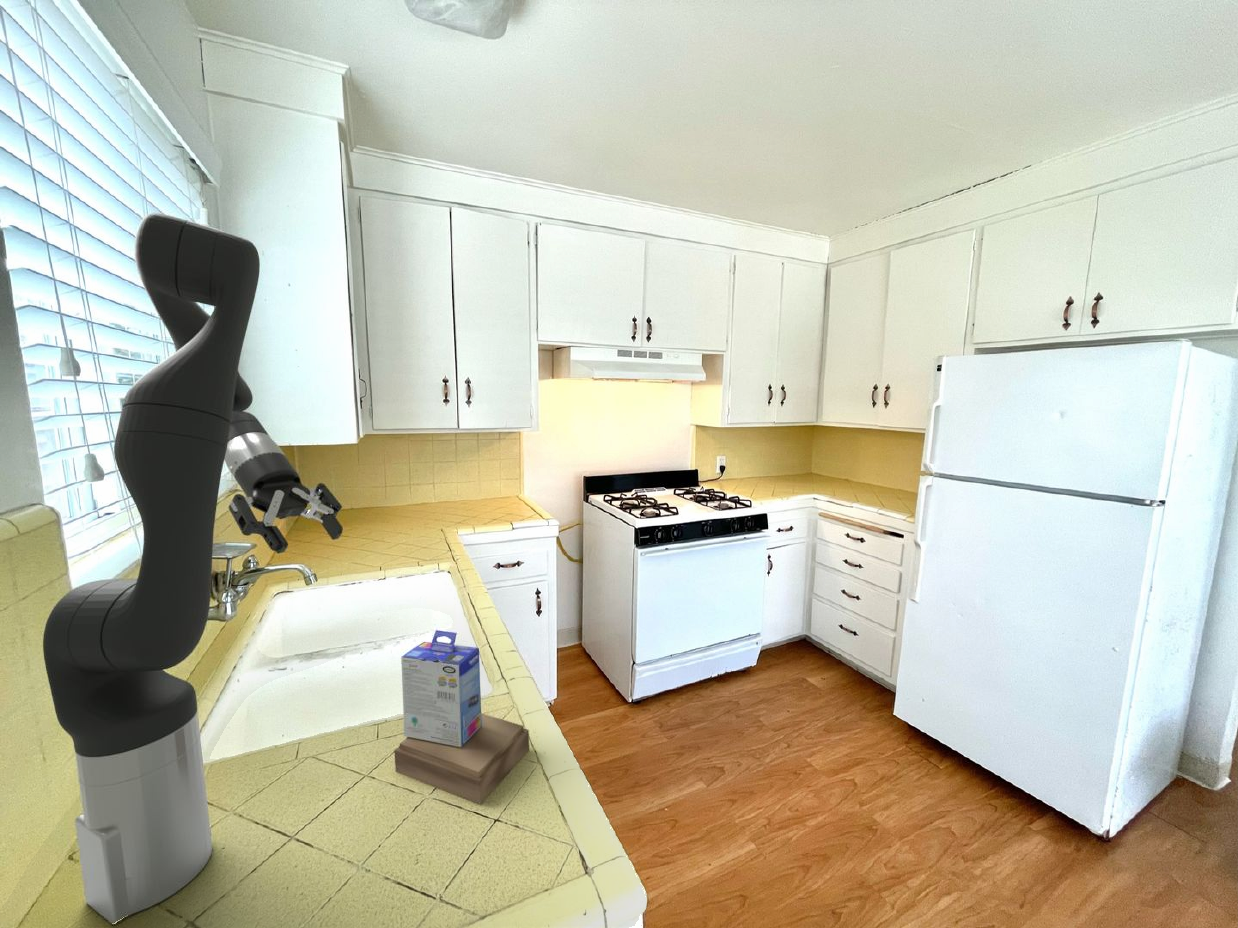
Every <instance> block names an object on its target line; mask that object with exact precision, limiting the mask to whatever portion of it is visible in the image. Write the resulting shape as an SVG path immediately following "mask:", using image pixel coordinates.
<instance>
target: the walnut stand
mask: <svg viewBox="0 0 1238 928" xmlns="http://www.w3.org/2000/svg"><path fill="white" fill-rule="evenodd" d="M481 718H482V727H481V728H480V729H479V730H478V731H477V732H476V733H475V734H474V735H473V736H472V737H471V738H470V739H469V740H468V741H467V742H466V743H465V744H464V745H463V746H462V747H457V746H452V745H446V744H441V743H436V742H431V741H426V740H421V739H415V738H410V737H406V738H404V739H403V740H402V741H401V742H399V746H398V747H396V748H395V749H394V750H393V751H394V752H393V753H394V765H395V766H394V767H395V772H397V773H399V774H402V775H404V776H406V777H409V778H412V779H414V780H416V781H419V782H421V783H422V782H423V783H424V784H427V785H429V786H431V787H435V788H437V789H438V790H439V789H440V790H442V791H445V792H447V793H449V794H452V795H455V796H458V797H460V798H462V799H464V800H467V801H470V802H472V803H475V804H477V805H482V804H483V803H484V802H485V800H486V799H487V798H488V797H489V796H490V795H491V793H492V792H493V791H494V790H495V789H496V788H497V786H499V784H500V783H501V782H502V781H503V780H504V779H505V778H506V777H507V775H508V774H510V772H511V771H512V770H513V769H514V767H515V766H516V765H517V764H518V763H519V762H520V761H521V760H522V758H524V757H525V755H526V754H527V753H528V752H529V751H530V735H529V734H530V733H529V729H527V728H524V727H525V726H524V725H522V724H519V723H515V722H511V721H509V720H505V719H501V718H498V717H495V716H492V715H488V714H485V713H482V712H481Z"/></svg>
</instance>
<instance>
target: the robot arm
mask: <svg viewBox="0 0 1238 928" xmlns="http://www.w3.org/2000/svg"><path fill="white" fill-rule="evenodd" d="M133 250H134V251H133V252H134V253H133V254H134V261H135V267H136V271H137V274H138V277H139V279H140V281H141V284H142V286H143V288H144V289H145V292H146V293H147V295H148V297H149V299H150V302H151V303H152V305H153V307H154V309H155V311H156V313H157V315H158V316H159V319H160V320H161V321H162V323H163V326H164V327H165V328H166V331H167V333H169V334H168V335H169V336H170V339H171V340H172V343H173V346H174V349H175V352H174V353H173V354H171V355H169V356H168V357H166V358H165V359H163V360H162V361H160V362H159V363H157V364H156V365H154V366H153V367H152V368H151V369H150V370H148V371H147V372H146V373H144V374H143V375H142V376H141V377H139V378H138V379H137V380H136V381H135V382H134V383H133V384H132V385H131V387H130V388H129V389H128V390H127V392H126V394H125V396H124V398H123V402H122V407H121V411H120V417H119V420H118V425H117V431H116V434H115V439H114V444H113V453H114V460H115V464H116V466H117V470H118V472H119V475H120V476H121V479H122V481H123V484H125V488H126V489H127V491H128V493H129V494H130V497H131V498H132V500H133V502H134V505H135V506H136V508H137V511H138V514H139V516H140V519H141V522H142V528H143V529H142V530H143V546H142V555H141V560H140V561H141V562H140V566H139V571H138V576H137V578H111V579H100V580H94V581H90V582H86V583H84V584H82V585H79V586H77V587H75V588H74V589H72V590H70V591H68V593H66V594H65V595H63V597H61V599H59V601H58V602H57V603H56V604H55V606H53V608H52V609H51V611H50V613H49V615H48V618H47V620H46V623H45V627H44V631H43V638H42V650H43V651H42V652H43V659H44V664H45V665H44V666H45V670H46V671H45V672H46V675H47V679H48V684H49V688H50V694H51V698H52V701H53V707H54V711H55V714H56V715H55V716H56V718H57V721H58V723H59V725H60V726H61V728H62V729H63V730H64V731H65V732H66V733H67V734H68V735H69V736H70V737H71V739H72V742H73V748H74V753H75V754H74V755H75V762H76V763H75V764H76V770H77V777H78V784H79V792H80V800H81V808H82V813H81V814H80V815H78V816H76V818H75V819H74V823H75V824H74V825H75V832H76V839H77V846H78V855H79V862H80V868H81V875H82V882H83V883H82V884H83V890H84V897H85V903H86V904H88V905H89V906H90V907H91V908H92V909H93V910H94V911H96V912H97V913H98V914H99V915H100V916H101V917H103V916H104V917H105V918H106V919H107V920H109V921H110V922H111V923H115V922H116V921H118V920H120V919H122V918H123V917H125V916H127V915H129V916H131V915H133V914H136V913H138V912H141V911H143V910H146V909H149V908H150V907H152V906H154V905H157V904H159V903H161V902H163V901H164V900H166V899H168V898H169V897H170V896H173V895H174V894H175V893H177V892H179V891H180V890H181V889H182V888H184V887H185V886H187V885H188V884H189V883H190V882H191V881H192V880H193V879H194V878H195V877H197V875H198V874H199V873H200V872H201V871H202V870H203V869H204V868H205V866H206V864H207V863H208V862H209V860H210V858H211V856H212V850H213V844H212V829H211V824H210V816H209V815H210V813H209V805H208V804H209V803H208V796H207V788H206V787H207V786H206V777H205V767H204V758H203V750H202V749H203V748H202V747H203V746H202V739H201V730H200V721H199V713H198V712H199V710H198V702H197V701H198V700H197V694H196V690H195V688H194V686H193V685H192V684H191V683H190V682H189V681H186V680H185V679H182V678H179V677H177V676H175V675H173V674H170V673H168V672H166V671H165V670H168V669H171V668H173V667H176V666H177V665H179V664H180V663H182V662H184V661H185V660H186V659H187V658H188V657H189V656H190V655H191V654H192V653H193V652H194V651H195V649H196V648H197V646H198V644H199V643H200V641H201V639H202V637H203V636H204V635H203V634H204V632H205V629H206V626H207V621H208V617H209V611H210V605H211V590H212V571H213V551H214V550H213V549H214V529H215V521H216V513H217V506H218V499H219V492H220V484H221V478H222V473H223V468H224V463H225V465H226V467H227V469H228V470H229V472H230V473H231V474H232V476H233V478H234V480H235V481H236V482H237V484H238V485H239V487H240V489H241V490H242V492H243V493H244V494H245V496H246V497H245V496H244V494H238V493H237V494H235V495H234V496H233V498H232V500H231V501H230V504H229V505H228V509H229V512H230V513H231V515H232V517H233V519H234V520H235V521H234V522H236V524H237V526H238V528H239V530H240V532H241V533H242V535H243V536H247V537H248V536H251V535H253V534H254V535H258V536H259V537H262V538H263V540H264V541H265V543H266V544H267V546H268V547H269V549H270V550H271V551H273V552H276V554H283V553H285V552H286V550H287V548H288V547H289V543H288V541H287V539H286V538H285V536H284V535H283V534H282V532H281V531H280V529H279V527H278V526H277V525H274V523H275V520H276V518H277V519H279V520H282V519H283V520H284V519H287V518H288V517H289V518H290V517H299V516H301V517H305V518H307V519H314V520H315V521H319V522H321V525H322V527H323V529H324V530H325V531H326V532H327V534H328V536H329V537H330V538H331V540H333V541H334V540H338V539H339V538H340V537H341V535H342V533H343V530H344V527H343V526H342V525H341V522H339V520H338V519H337V518H336V517H337V515H338V514H339V512H340V511H341V509H342V508H343V505H342V504H341V503H340V502H339V500H338V499H337V498H336V497H335V496H334V494H333V493H332V492H331V491H330V489H329V488H328V487H327V486H326V484H324V483H322V482H319V483H317V485H316V486H314V487H310V488H308V487H307V486H305V485H303V483H302V481H301V478H300V475H299V473H298V472H297V470H296V469H295V467H294V466H293V464H292V463H291V462H290V460H289V459H288V457H287V456H286V454H285V453H284V451H283V450H282V448H281V447H280V445H278V443H276V442H275V441H274V440H273V438H272V437H271V436H270V435H269V433H268V432H267V430H266V429H265V428H264V426H263V425H262V423H261V422H260V420H259V419H258V418H257V417H256V415H254V414H252V413H250V412H248V411H246V410H247V409H249V408H250V407H251V405H252V403H253V399H254V398H253V392H252V391H251V389H250V387H249V384H247V382H246V381H245V380H244V378H243V377H242V376H241V374H240V372H239V366H240V360H241V354H242V349H243V344H244V342H245V337H246V334H247V329H248V326H249V321H250V318H251V313H252V309H253V306H254V302H255V297H256V293H257V289H258V284H259V279H260V265H261V263H260V262H261V261H260V256H259V252H258V249H257V246H256V245H255V244H254V243H253V242H252V241H251V240H249V239H246V238H244V237H242V236H240V235H237V234H235V233H232V232H227V231H224V230H221V229H219V228H214V227H212V226H208V225H204V224H202V223H201V224H200V223H197V222H195V221H190V220H187V219H185V218H181V217H178V216H174V215H170V214H165V213H158V212H154V213H153V212H152V213H149V214H147V215H145V216H144V217H143V218H142V219H141V221H140V222H139V225H138V227H137V230H136V233H135V237H134V249H133ZM200 304H203V305H208V306H213V307H214V310H213V312H212V313H211V315H210V314H209V313H208V312H207V311H206V310H204V309H203V307H201V306H200ZM308 504H309V505H311V507H310V509H307V507H308ZM252 508H254V509H256V510H258V511H260V512H262V513H263V515H262V519H261V521H260V520H258V519H257V517H256V515H255V513H254V512H253V510H252ZM320 512H321V513H320ZM104 917H103V918H104ZM127 917H128V916H127ZM105 918H104V919H105ZM106 919H105V920H106ZM107 920H106V921H107ZM109 921H108V922H109ZM110 922H109V923H110ZM111 923H110V924H111Z"/></svg>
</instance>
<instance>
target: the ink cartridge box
mask: <svg viewBox="0 0 1238 928" xmlns="http://www.w3.org/2000/svg"><path fill="white" fill-rule="evenodd" d="M457 634H458V633H457V632H452V631H444V630H438V629H436V630H435V632H434V635H433V637H432V640H431V642H430V641H423V642H422V643H420V644H418V645H416V646H415V647H413V648H412V649H410V650H409V651H407V652H406V653H405V654H404V655H402V656H400V660H401V661H400V662H401V663H400V664H401V684H402V685H401V686H402V711H403V713H402V716H403V717H402V718H403V736H404V737H406V738H407V737H410V738H415V739H421V740H426V741H431V742H436V743H441V744H446V745H452V746H457V747H462V746H463V745H464V744H465V743H466V742H467V741H468V740H469V739H470V738H471V737H472V736H473V735H474V734H475V733H476V732H477V731H478V730H479V729H480V728H481V727H482V718H481V713H482V701H481V700H482V699H481V697H482V695H481V671H480V667H481V666H480V665H481V664H480V648H479V647H475V646H474V647H473V646H465V645H457V644H455V642H456V638H457ZM441 637H446V638H448V639H449V640H450V642H443V641H438V638H441Z"/></svg>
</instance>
